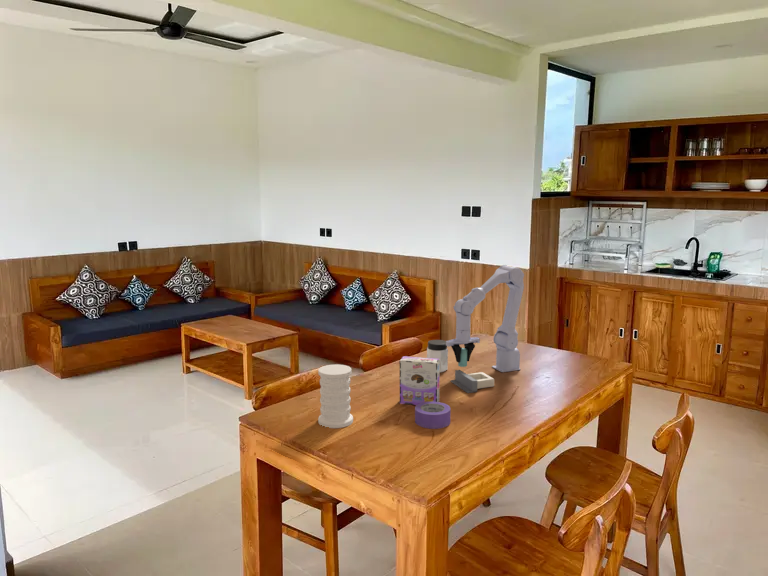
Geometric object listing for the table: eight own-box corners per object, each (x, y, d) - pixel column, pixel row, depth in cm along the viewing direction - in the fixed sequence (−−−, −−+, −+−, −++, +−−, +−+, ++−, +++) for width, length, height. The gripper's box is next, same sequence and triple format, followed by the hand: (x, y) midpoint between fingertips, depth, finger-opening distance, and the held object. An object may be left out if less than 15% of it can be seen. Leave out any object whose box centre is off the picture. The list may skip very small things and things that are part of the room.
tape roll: (408, 424, 195) (408, 409, 194) (424, 412, 205) (424, 398, 204) (441, 432, 189) (441, 417, 188) (456, 419, 199) (456, 405, 198)
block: (482, 379, 238) (482, 372, 237) (494, 386, 230) (494, 378, 229) (462, 381, 235) (462, 374, 234) (473, 389, 227) (474, 381, 226)
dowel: (464, 363, 245) (464, 347, 243) (468, 366, 241) (468, 349, 240) (456, 364, 243) (456, 348, 242) (460, 367, 240) (461, 350, 239)
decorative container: (341, 430, 189) (341, 377, 186) (311, 424, 195) (310, 372, 191) (359, 418, 200) (358, 367, 196) (330, 412, 205) (329, 362, 201)
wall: (459, 380, 237) (459, 369, 236) (477, 391, 224) (477, 380, 223) (450, 381, 236) (450, 370, 235) (467, 393, 223) (468, 381, 222)
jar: (437, 374, 245) (437, 346, 243) (422, 369, 251) (423, 342, 249) (451, 369, 251) (451, 342, 249) (436, 365, 257) (437, 338, 255)
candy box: (439, 401, 214) (440, 358, 212) (436, 407, 209) (437, 362, 206) (402, 398, 218) (403, 355, 215) (398, 403, 213) (399, 359, 210)
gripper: (473, 325, 246) (473, 356, 248) (442, 328, 241) (442, 360, 243) (482, 329, 239) (481, 361, 242) (450, 332, 234) (450, 365, 237)
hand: (462, 361), depth 242 cm, fingers closed on dowel, 4 cm apart
